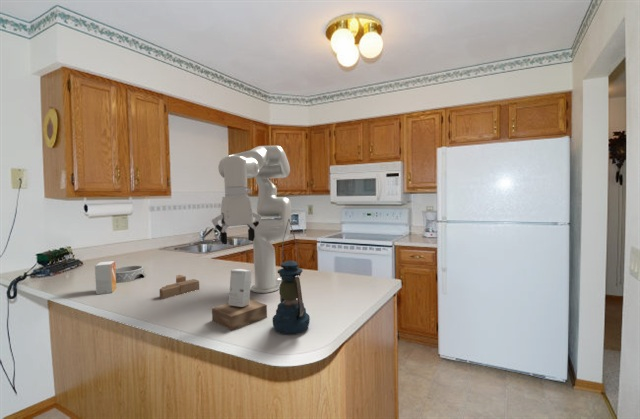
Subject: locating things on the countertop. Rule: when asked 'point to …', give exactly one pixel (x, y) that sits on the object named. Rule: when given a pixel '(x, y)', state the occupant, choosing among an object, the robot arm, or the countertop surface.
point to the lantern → (290, 299)
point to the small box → (105, 277)
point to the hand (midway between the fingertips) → (238, 242)
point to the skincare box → (240, 287)
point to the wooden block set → (179, 287)
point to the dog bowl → (129, 273)
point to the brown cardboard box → (239, 314)
